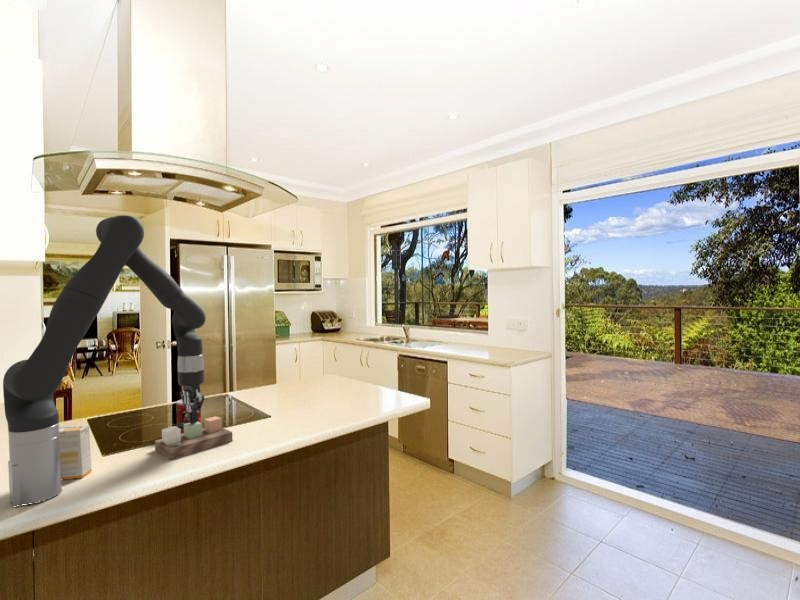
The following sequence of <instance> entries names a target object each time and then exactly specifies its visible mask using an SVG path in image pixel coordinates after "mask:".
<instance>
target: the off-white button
mask: <svg viewBox="0 0 800 600" xmlns="http://www.w3.org/2000/svg"><path fill="white" fill-rule="evenodd" d="M161 439H162V443H164V444H166V445H169V444H173V443H176V442H180V441H181V429H180V428H178V427H177V425H176V426H175V425H174V426H170V427H166V428H162V429H161Z"/></svg>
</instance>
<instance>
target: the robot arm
mask: <svg viewBox="0 0 800 600" xmlns="http://www.w3.org/2000/svg"><path fill="white" fill-rule="evenodd" d="M95 234H96V237H97V240H98V241H99V242H100V244H99V246H98V248H97V249H96V251H95V252H94V254H93V255H92V257H90V259H89V260H88V261H87V262H86V263H85V264H84V265H82V266H81V267H80V268H79V269H78V270H77V271H76V272H75V273H74V274H73V276H71V277H70V279H69V280H68V281H67V282H66V283H65V285H64V287H63V288H62V290H60V293H59V295H58V296H57V298H56V299H55V301H54V303H53V304H52V308H51V310H50V312H49V314H48V315H49V316H48V319H47V323H46V327H45V329H44V334H43V335H42V338H41V339H40V341H39V342H38V345H37V346H36V347H35V349H33V352H32V353H31V355H29V357H28V358H27V359H22V360H20V361H17V362H15V363H14V364H12V365H11V366H9V368H8V369H7V370H6V371H5V373H4V375H3V379H2V381H3V382H2V389H3V391H2V392H3V405H4V414H5V415H4V416H5V418H6V419H5V420H6V422H7V431H8V433H7V434H8V454H9V460H8V462H7V463H8V464H7V466H8V487H9V490H8V491H9V501H10V500H11V501H10V502H12V503H11V505H12V504H13V505H12V507H13V506H17V505H22V504H29V503H35V502H39V501H43V500H46V499H48V500H50V499H49V498H51V499H53V498H54V496H55V497H56V495H57V496H58V495H59V494H60V493H62V490H63V486H62V482H63V480H61V459H60V436H59V427H60V419H59V417H60V415H59V410H58V409H57V407H56V403H55V400H54V393H56V390H58V388H59V387H60V385H61V383H62V380H63V379H64V377H65V374H66V372H67V369H68V367H69V365H70V362H71V360H72V358H73V356H74V354H75V351H77V350H76V349H77V348H78V346H79V344H80V343H81V342H82V340H83V339H84V337H85V336H86V334H87V332H88V330H89V329H90V327H91V325H92V324H93V322H94V320H95V318H97V316H98V314H99V313H100V310H101V309H102V307H103V305H104V303H105V302H106V300H107V299H108V296H109V294H110V293H111V290H112V288H113V287H114V285H115V283H116V282H117V279H118V278H119V276H120V274H121V272H122V270H123V269H124V267H125V266H126V267H128V269H130V270H131V271H132V272H133V273H134V274H135V276H137V277H138V278H139V280H140V281H141V282H142V283H143V284H144V285H145V286H146V287H147V289H148V290H149V291H150V292H151V294H153V295H154V297H155V298H156V299H157V300H158V302H159V303H160V304H161V305H162V306H163V307H164V308H166V309H169V310H171V311H173V314H172V318H171V321H172V323H171V324H172V328H173V332H174V335H175V339H176V342H177V383H178V385H179V386H181V387H183V390H182V391H180V393H179V394H180V398H181V399H182V401H183V404H184V408H187V411H188V422H189V423H191V424H193V423H196V422H197V411H198V410H200V409H201V410H202V406H203V404H204V401H205V396H204V395H202V394H201V393H202V391H201V387H200V385H201V384H204V383H205V366H204V365H205V362H204V355H203V340H202V338H201V337H200V336H199V335H197V333H196V329H199V328H202V327H203V325H204V324H205V323H206V313H205V312H204V310H203V308H202V307H201V306H200V305H199V304H198V303H197V302H196V301H195V300H194V299H192V298H191V297H190V296H189V295H188V294H186V293H185V292H184V291H183V290H182V288H181V287H180V285H179V284H178V283H177V282H176V281H175V279H174V278H173V276H171V274H169V273H168V272H167V271H166V270H165V269H164V268H162V266H159V265H158V264H157V263H156V262H155V261H154V260H152V258H150V257H149V256H148V255H147V254H146V253H145V252H144V250H143V249H142V248H141V247H140V245H141V244H142V243H143V240H144V237H145V229H144V226H143V224H142V222H141V221H140V220H139V219H138V218H136V217H134V216H131V215H125V214H124V215H123V214H122V215H115V216H111V217H107V218H104V219H102V220H100V221H99V223H98V224H97V225H96V228H95ZM52 497H53V498H52ZM46 501H47V500H46ZM43 502H44V501H43ZM39 503H40V502H39Z"/></svg>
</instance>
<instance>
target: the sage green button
mask: <svg viewBox="0 0 800 600" xmlns="http://www.w3.org/2000/svg"><path fill="white" fill-rule="evenodd" d="M202 428H203V423H202V422H201V423H200V422H198V421H197V422H196V423H193V424H191V423H186V424H184V437H186V438H188V439H191V438H195V437H199V436H202Z"/></svg>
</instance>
